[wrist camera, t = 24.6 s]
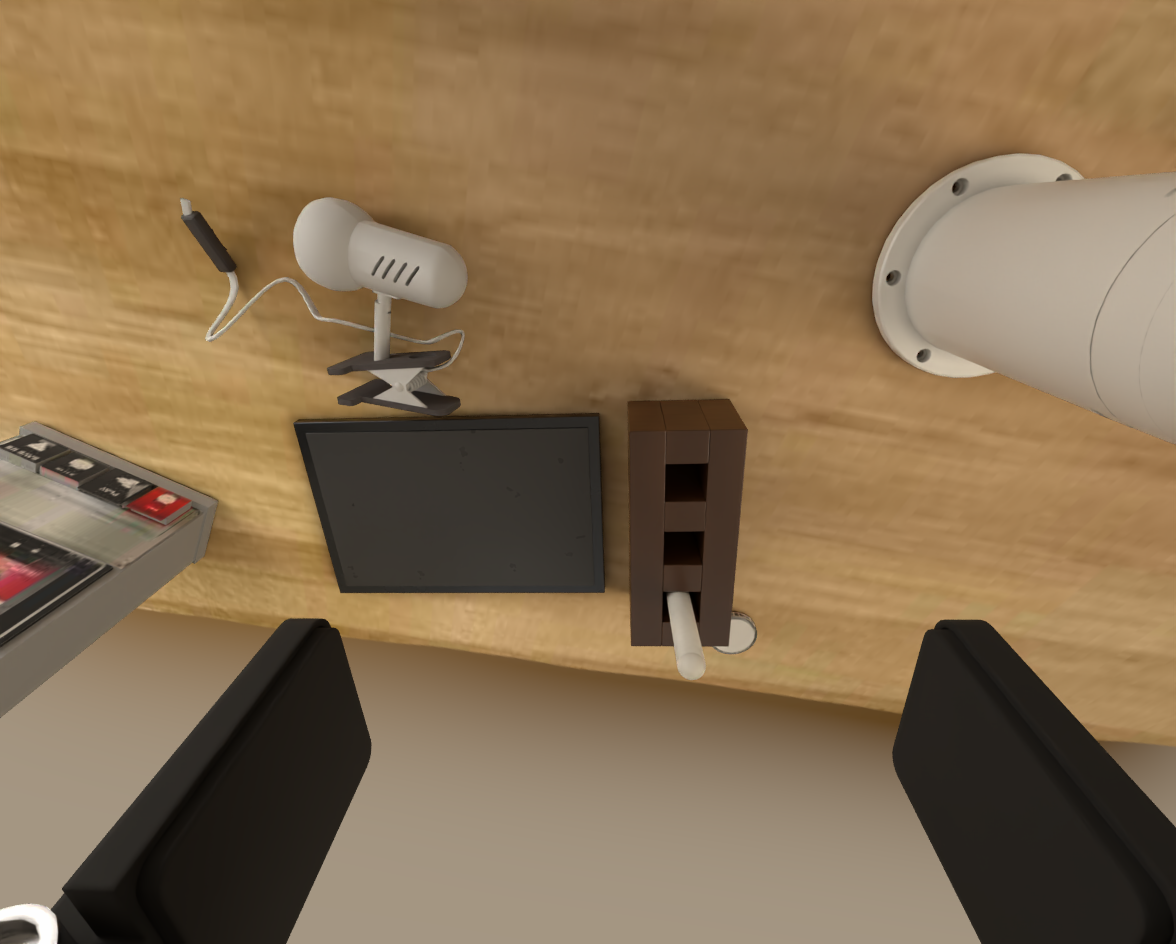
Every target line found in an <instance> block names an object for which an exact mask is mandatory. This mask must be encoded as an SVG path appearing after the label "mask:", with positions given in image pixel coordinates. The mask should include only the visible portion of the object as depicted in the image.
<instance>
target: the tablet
mask: <svg viewBox="0 0 1176 944" xmlns="http://www.w3.org/2000/svg"><path fill="white" fill-rule="evenodd" d="M293 424H294V428H295V431H296V435H297V438H298V442H299V446H300V449H301V453H302V456H303V460H304V463H305V467H306V471H307V474H308V478H309V481H310V485H311V489H312V492H313V496H314V499H315V503H316V507H317V510H318V514H319V517H320V521H321V525H322V528H323V532H324V535H325V539H326V542H327V546H328V550H329V553H330V557H331V560H332V564H333V568H334V571H335V575H336V578H337V582H338V586H339V589H340V593H604V592H605V572H604V541H603V510H602V479H601V447H600V416H599V413H579V414H532V415H485V416H438V417H391V418H344V419H299V420H297V421H296V422H294V423H293Z"/></svg>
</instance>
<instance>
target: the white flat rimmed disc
mask: <svg viewBox="0 0 1176 944" xmlns="http://www.w3.org/2000/svg"><path fill="white" fill-rule="evenodd" d="M756 638H757V630H756V627H755V624H754V622H753V621H752V619H751V618H750V617H748V616H747V615H745V614H742V613H739V612H732V616H731V627H730V638H729V646H728V647H722V646H712V647H713V648H714V649H715V650H717V651H719V652H721V653H725V654H738V653H741V652H744V651H746V650H748V649H749V648H750V647H751V646H752V645H753V644H754V643H755V641H756Z"/></svg>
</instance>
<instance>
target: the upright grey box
mask: <svg viewBox="0 0 1176 944" xmlns="http://www.w3.org/2000/svg"><path fill="white" fill-rule="evenodd" d="M217 504H218V501H217V500H215V499H213V498H210V497H208V496H206V495H203V494H201V493H199V492H197V491H194V490H192V489H190V488H187V487H185V486H183V485H180V484H178V483H176V482H173V481H171V480H169V479H166V478H164V477H162V476H160V475H157V474H155V473H153V472H150V471H148V470H146V469H143V468H141V467H139V466H136V465H134V464H132V463H129V462H127V461H125V460H123V459H120V458H118V457H116V456H113V455H111V454H109V453H106V452H104V451H102V450H99V449H97V448H95V447H92V446H90V445H88V444H86V443H83V442H81V441H79V440H76V439H74V438H72V437H69V436H67V435H65V434H62V433H60V432H58V431H55V430H53V429H51V428H49V427H46V426H44V425H42V424H39V423H37V422H35V421H34V422H32V423H29V424H26V425H23V426H20V430H19V435H18V436H16V437H13V438H10V439H7V440H5V441H2V442H0V718H1V717H2V716H3V715H5V714H6V713H7V712H8V711H9V710H11V709H12V708H13V707H14V706H15V705H17V704H18V703H19V702H20V701H22V700H23V699H24V698H25V697H27V696H28V695H29V694H30V693H32V692H33V691H34V690H35V689H37V688H38V687H39V686H40V685H42V684H43V683H44V682H45V681H46V680H48V679H49V678H50V677H51V676H53V675H54V674H55V673H56V672H58V671H59V670H60V669H61V668H62V667H64V666H65V665H66V664H67V663H69V662H70V661H71V660H72V659H74V658H75V657H76V656H77V655H79V654H80V653H81V652H82V651H84V650H85V649H86V648H87V647H89V646H90V645H91V644H92V643H93V642H95V641H96V640H97V639H98V638H100V637H101V636H102V635H103V634H105V633H106V632H107V631H108V630H110V629H111V628H112V627H113V626H114V625H116V624H117V623H118V622H119V621H121V620H122V619H123V618H124V617H126V616H127V615H128V614H129V613H131V612H132V611H133V610H134V609H135V608H137V607H138V606H139V605H140V604H142V603H143V602H144V601H145V600H147V599H148V598H149V597H150V596H152V595H153V594H154V593H155V592H156V591H158V590H159V589H160V588H161V587H163V586H164V585H165V584H166V583H168V582H169V581H170V580H171V579H173V578H174V577H175V576H176V575H177V574H179V573H180V572H181V571H182V570H184V569H185V568H186V567H187V566H189V565H190V564H191V563H194V564H195V563H196V562H198V561H199V560H200V559H201V558H202V557H204V555H205V551H206V547H207V543H208V539H209V535H210V532H211V528H212V524H213V520H214V516H215V512H216V508H217Z"/></svg>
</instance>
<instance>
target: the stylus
mask: <svg viewBox="0 0 1176 944" xmlns="http://www.w3.org/2000/svg"><path fill="white" fill-rule="evenodd" d="M666 597H667V603H668V610H669V616H670V623H671V629H672V636H673V642H674V649H675V655H676V662H677V668H678V671H679V672H680V674H681V675H682V676H683V677H684V678H686V679H689V680H696V679H699V678H700V677H701V676H702V675H703V674H704V672H705V669H706V663H705V659H704V654H703V650H702V646H701V642H700V638H699V633H698V629H697V625H696V621H695V616H694V612H693V608H692V604H691V600H690V595H689V592H666Z"/></svg>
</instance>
